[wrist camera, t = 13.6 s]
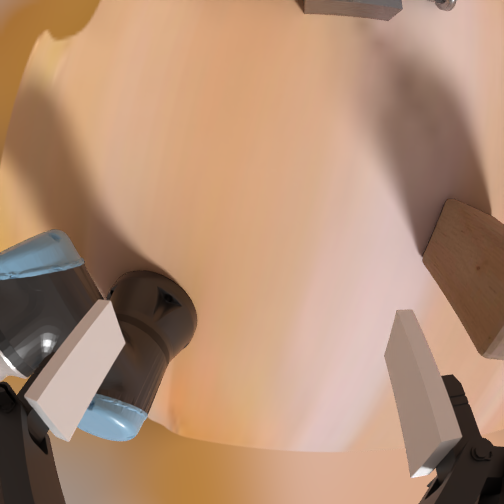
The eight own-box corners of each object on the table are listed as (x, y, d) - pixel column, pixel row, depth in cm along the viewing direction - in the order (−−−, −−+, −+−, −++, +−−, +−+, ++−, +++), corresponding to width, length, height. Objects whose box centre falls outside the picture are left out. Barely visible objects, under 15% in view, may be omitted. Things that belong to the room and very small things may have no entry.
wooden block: (445, 194, 35) (536, 268, 17) (494, 216, 35) (580, 290, 17) (417, 260, 39) (478, 361, 22) (467, 275, 39) (531, 366, 21)
